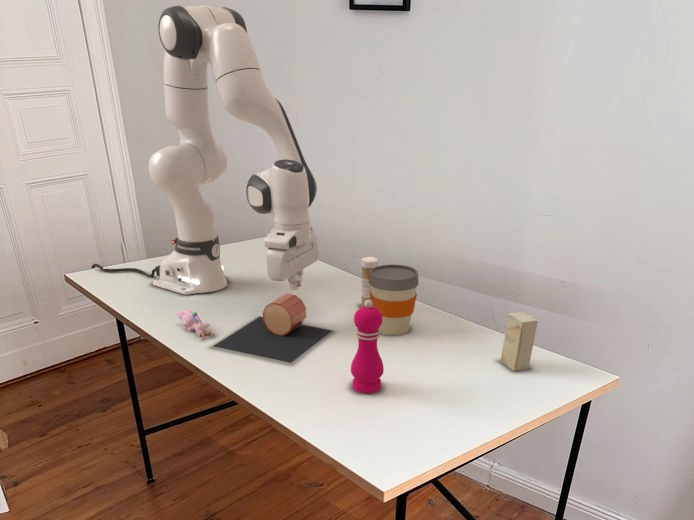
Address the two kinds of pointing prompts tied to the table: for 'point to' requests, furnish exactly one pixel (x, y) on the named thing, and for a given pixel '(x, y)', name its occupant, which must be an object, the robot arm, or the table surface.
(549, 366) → the table surface
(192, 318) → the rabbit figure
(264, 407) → the table surface
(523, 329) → the cosmetic box
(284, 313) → the cup
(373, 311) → the pepper mill
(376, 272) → the reusable coffee cup
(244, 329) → the mat
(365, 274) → the spice jar
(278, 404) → the table surface
